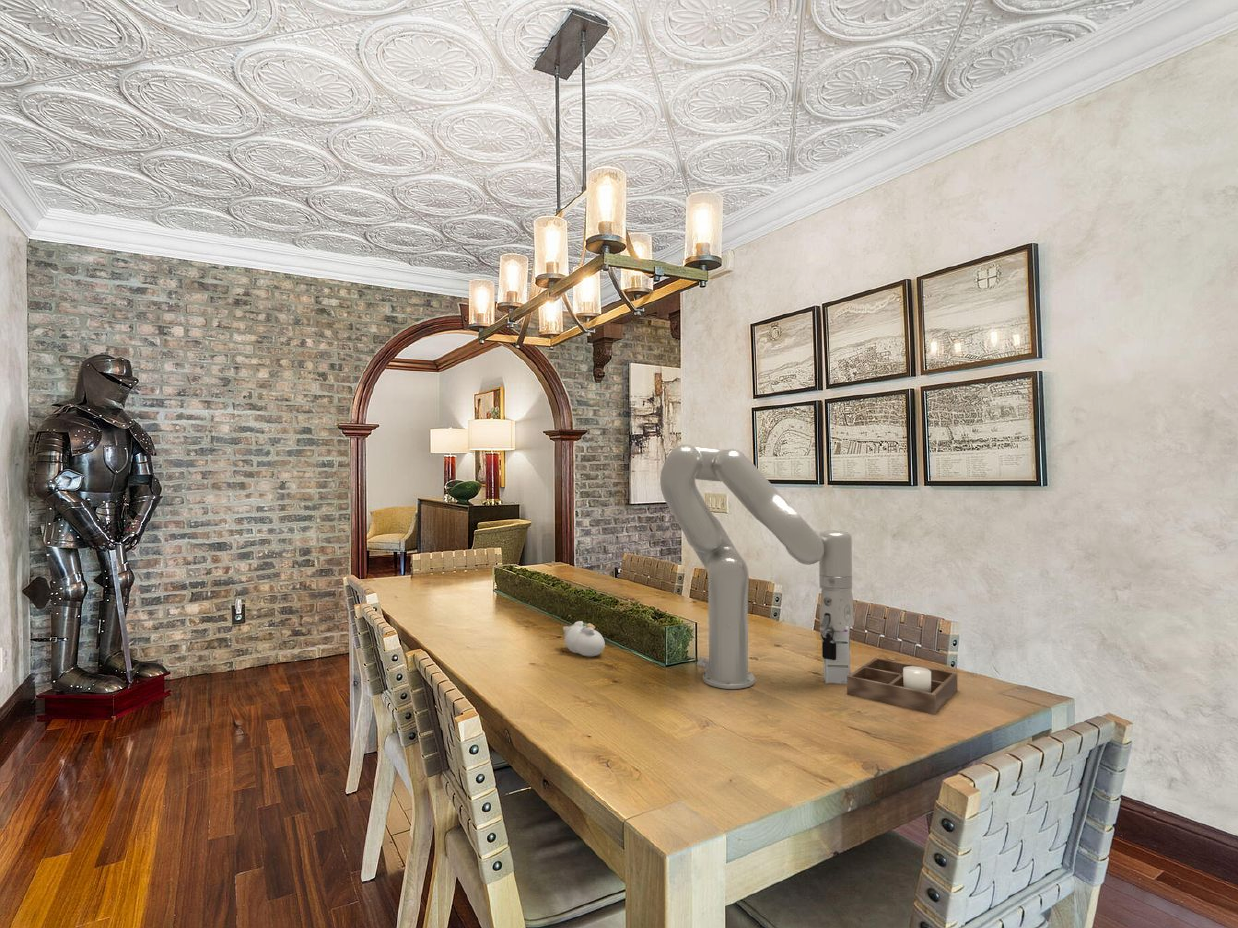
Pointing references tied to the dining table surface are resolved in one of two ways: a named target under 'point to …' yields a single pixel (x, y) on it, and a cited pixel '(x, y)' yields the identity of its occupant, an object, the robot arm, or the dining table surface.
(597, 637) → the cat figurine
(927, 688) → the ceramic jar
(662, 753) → the dining table surface
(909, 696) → the tray
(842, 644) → the grey tall block
